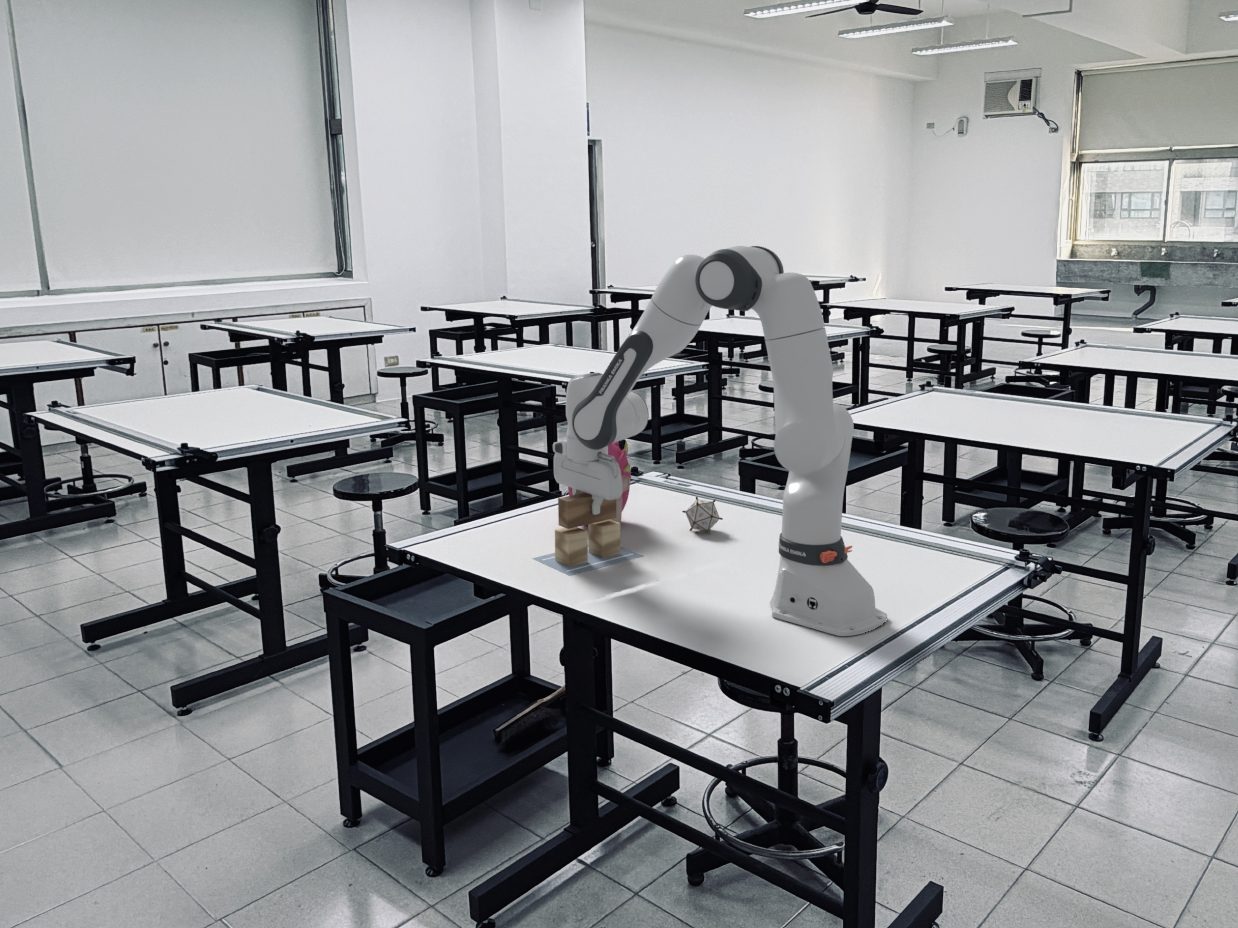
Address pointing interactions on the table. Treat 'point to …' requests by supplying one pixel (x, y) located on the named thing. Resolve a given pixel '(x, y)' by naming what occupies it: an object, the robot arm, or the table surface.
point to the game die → (702, 515)
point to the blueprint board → (592, 563)
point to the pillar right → (604, 538)
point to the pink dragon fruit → (625, 475)
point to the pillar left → (571, 546)
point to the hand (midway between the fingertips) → (587, 511)
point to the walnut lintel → (583, 510)
